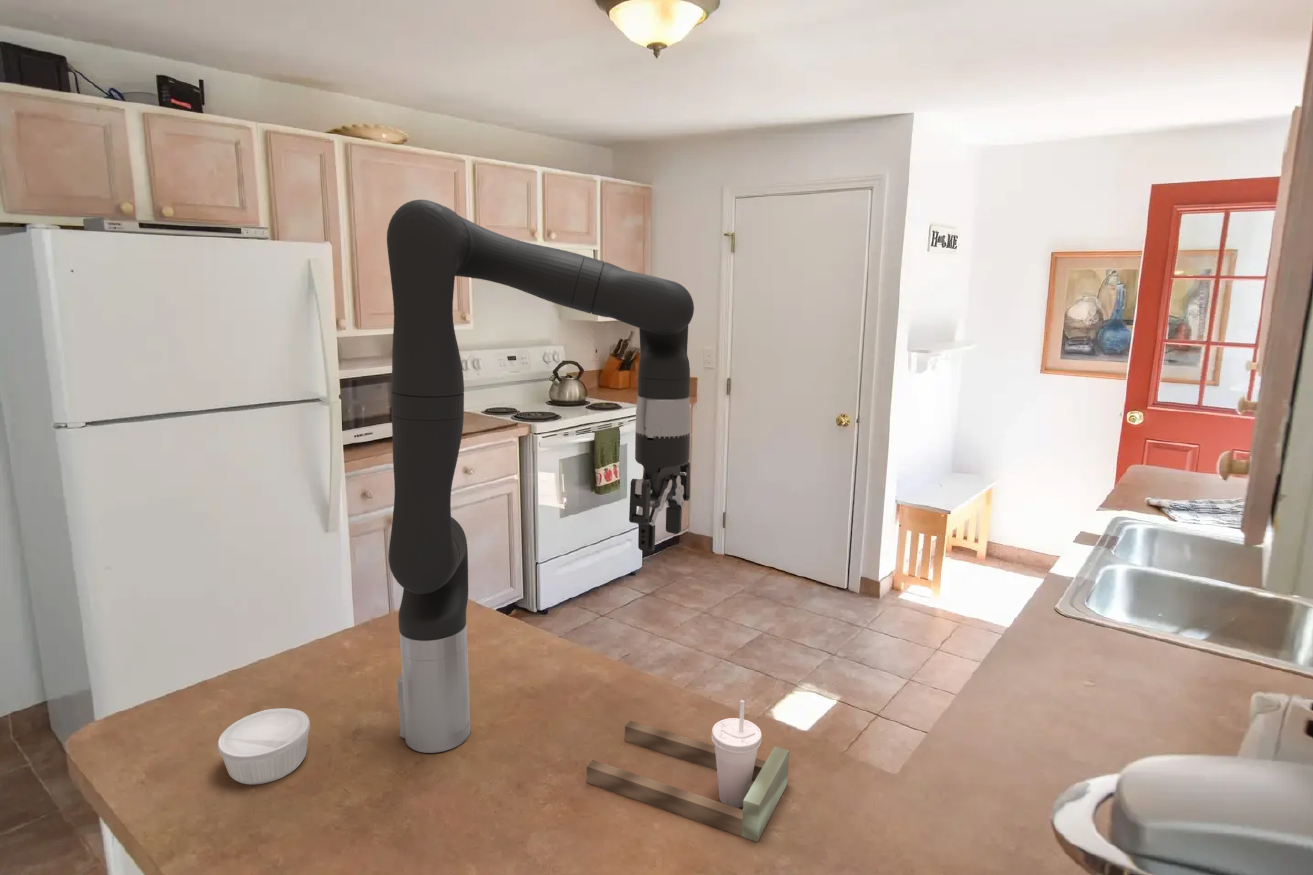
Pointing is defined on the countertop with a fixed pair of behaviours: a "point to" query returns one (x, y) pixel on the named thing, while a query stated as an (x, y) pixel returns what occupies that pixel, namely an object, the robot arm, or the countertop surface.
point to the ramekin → (265, 745)
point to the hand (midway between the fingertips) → (660, 541)
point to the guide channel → (744, 822)
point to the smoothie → (735, 756)
